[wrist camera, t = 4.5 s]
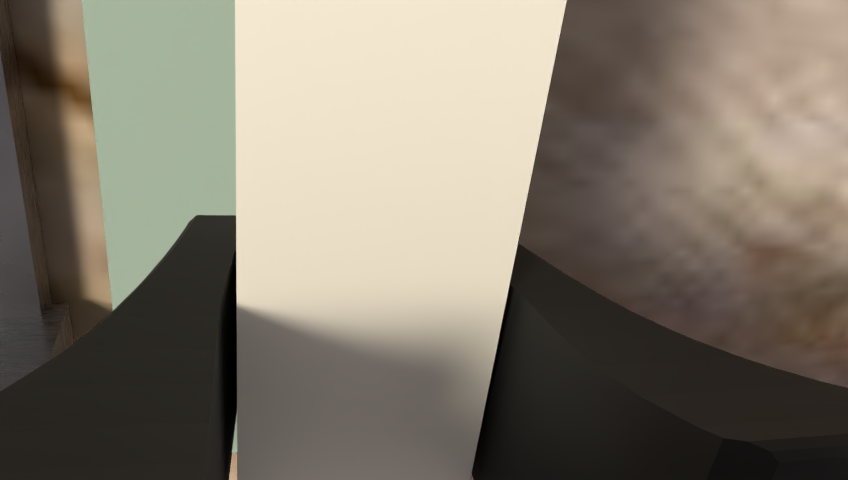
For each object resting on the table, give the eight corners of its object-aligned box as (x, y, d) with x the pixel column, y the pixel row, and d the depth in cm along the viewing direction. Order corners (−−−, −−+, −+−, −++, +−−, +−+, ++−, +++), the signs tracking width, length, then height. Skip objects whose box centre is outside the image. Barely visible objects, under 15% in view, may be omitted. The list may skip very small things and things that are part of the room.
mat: (435, 425, 23) (439, 438, 23) (130, 444, 21) (127, 460, 21) (566, -384, 14) (578, -391, 13) (39, -498, 12) (29, -513, 11)
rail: (378, 655, 16) (403, 809, 14) (239, 674, 16) (239, 841, 13) (561, -629, 7) (744, -883, 4) (234, -729, 6) (229, -1104, 4)
